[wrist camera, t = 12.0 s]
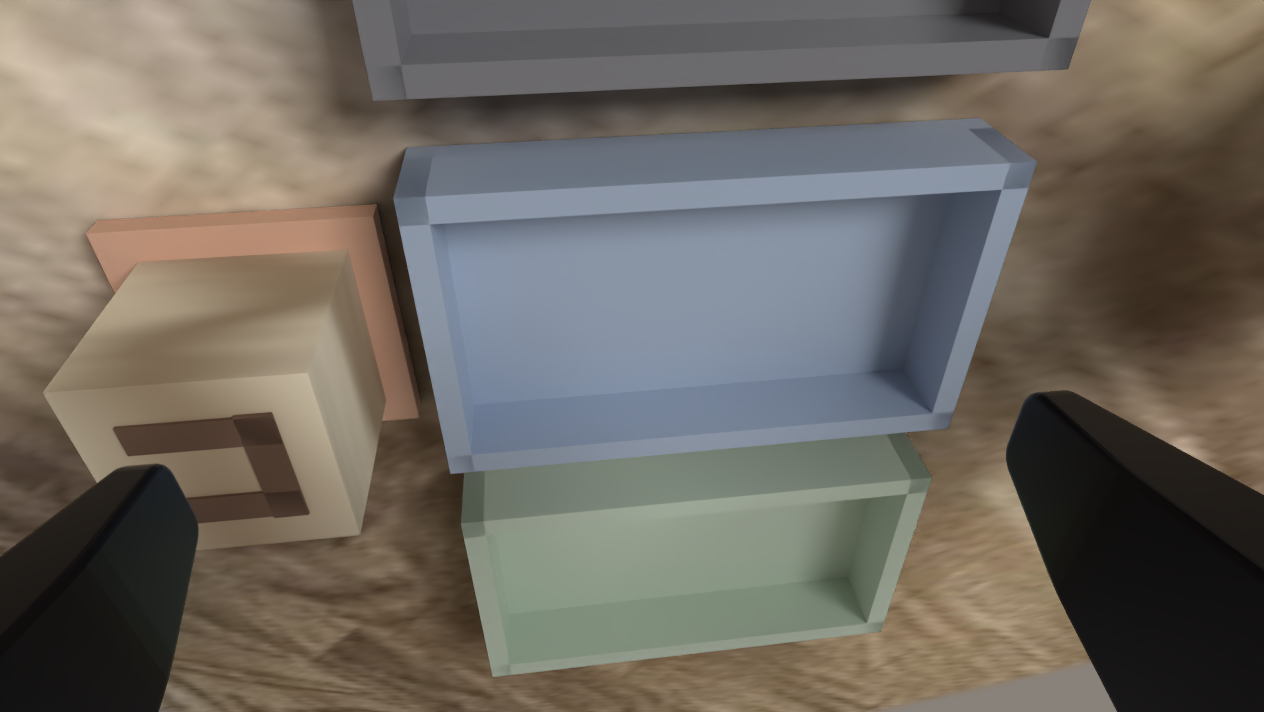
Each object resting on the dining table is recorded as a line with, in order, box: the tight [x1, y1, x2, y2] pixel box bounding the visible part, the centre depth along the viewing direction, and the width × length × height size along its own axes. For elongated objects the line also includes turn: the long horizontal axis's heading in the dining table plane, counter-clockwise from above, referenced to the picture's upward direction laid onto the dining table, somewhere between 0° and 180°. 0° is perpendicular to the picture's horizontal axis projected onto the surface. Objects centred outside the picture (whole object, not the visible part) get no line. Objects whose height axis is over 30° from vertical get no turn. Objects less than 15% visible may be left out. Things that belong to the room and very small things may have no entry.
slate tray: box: [393, 118, 1037, 474], centre depth 19 cm, size 13×8×2 cm, turn 90°
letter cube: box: [43, 249, 386, 551], centre depth 17 cm, size 4×4×5 cm
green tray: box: [461, 432, 932, 677], centre depth 25 cm, size 13×8×2 cm, turn 90°
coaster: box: [86, 204, 421, 421], centre depth 19 cm, size 6×6×1 cm
